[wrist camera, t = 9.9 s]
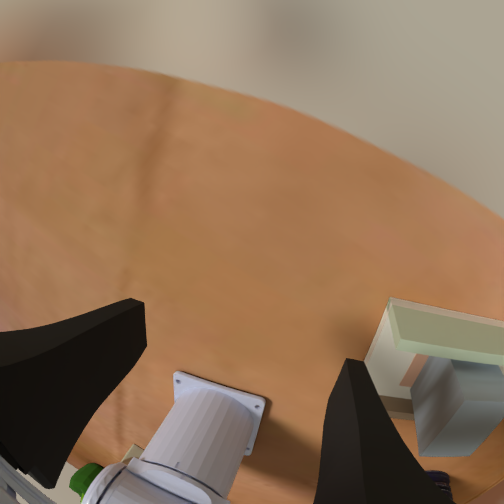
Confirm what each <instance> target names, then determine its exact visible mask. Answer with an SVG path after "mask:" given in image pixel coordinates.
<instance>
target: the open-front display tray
mask: <svg viewBox="0 0 504 504" xmlns="http://www.w3.org/2000/svg"><path fill="white" fill-rule="evenodd" d="M429 356H435V357H441V358H448V359H454V360H461V361H469V362H476V363H484V364H492V365H498V366H499V367H500V369H501V371H502V373H503V375H504V321H500V320H495V319H491V318H486V317H481V316H476V315H472V314H467V313H462V312H457V311H453V310H448V309H443V308H439V307H434V306H429V305H425V304H420V303H416V302H411V301H406V300H402V299H397V298H393V297H390V298H389V301H388V303H387V306H386V309H385V311H384V314H383V317H382V319H381V322H380V324H379V327H378V329H377V332H376V334H375V337H374V339H373V341H372V344H371V346H370V348H369V351H368V353H367V355H366V358H365V360H364V363H365V365H366V367H367V369H368V372H369V374H370V376H371V379H372V381H373V383H374V385H375V388H376V390H377V392H378V394H379V396H380V398H381V401H382V403H383V405H384V407H385V409H386V411H387V413H388V415H389V417H390V418H397V419H406V420H415V418H414V411H413V405H412V399H411V393H410V389H411V387H412V385H413V384H414V382H415V380H416V378H417V377H418V375H419V373H420V371H421V370H422V368H423V366H424V364H425V362H426V361H427V359H428V357H429Z"/></svg>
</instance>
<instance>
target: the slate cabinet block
mask: <svg viewBox="0 0 504 504" xmlns="http://www.w3.org/2000/svg"><path fill="white" fill-rule="evenodd" d="M410 393H411V399H412V405H413V411H414V418H415V425H416V433H417V441H418V450H419V456H427V457H457V456H470V455H471V454H472V453H473V452H474V451H475V450H476V449H477V448H478V447H479V446H480V445H481V443H482V442H483V441H484V440H485V439H486V438H487V437H488V436H489V435H490V433H491V432H492V431H493V430H494V429H495V428H496V427H497V425H498V424H499V423H500V422H501V421H502V419H503V418H504V375H503V373H502V371H501V369H500V367H499V366H498V365H492V364H484V363H476V362H469V361H461V360H454V359H448V358H441V357H435V356H429V357H428V359H427V361H426V362H425V364H424V366H423V368H422V370H421V371H420V373H419V375H418V377H417V378H416V380H415V382H414V384H413V385H412V387H411V389H410Z"/></svg>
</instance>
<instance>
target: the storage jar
mask: <svg viewBox="0 0 504 504" xmlns="http://www.w3.org/2000/svg"><path fill="white" fill-rule="evenodd" d="M425 472H426V473H427V474H428V475H429V476H430V478H431V479H432V480H433V481H434V482H435V483H436V484H437V485H438V487H439V488H440V489H441V490H442V491H443V492H444V493H445V494H446V495H447V496H448V497H449V498H450V499H451V500H452V501H453V498H452V493H451V488H450V486H449V483H450V480H449V476H448V474H446V473H445V472H442V471H425Z"/></svg>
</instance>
